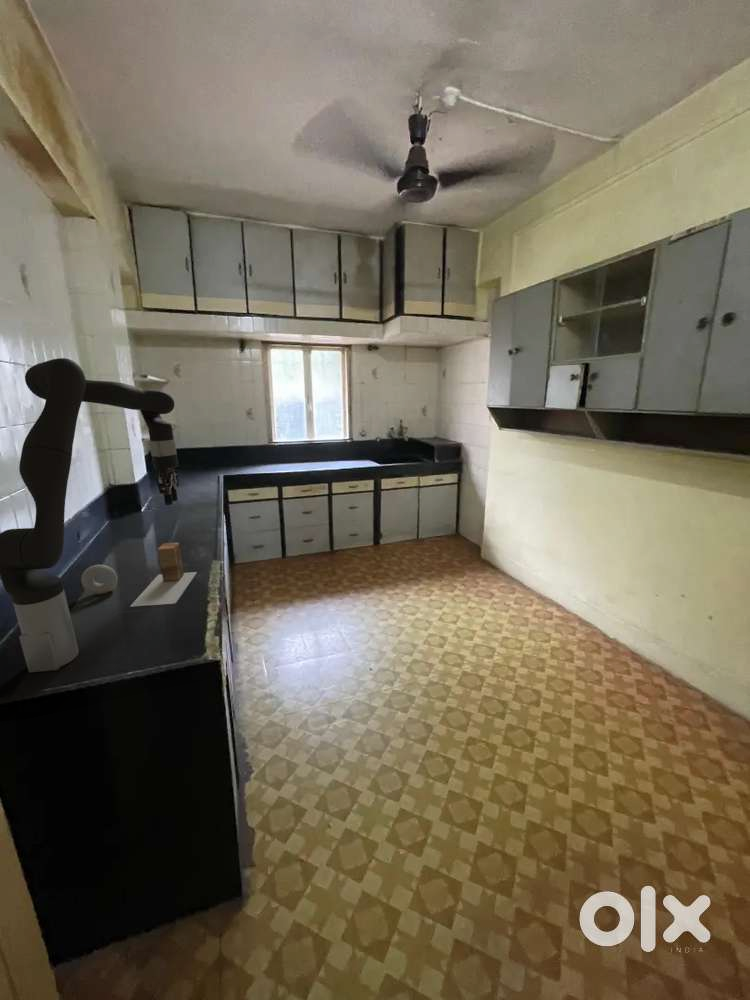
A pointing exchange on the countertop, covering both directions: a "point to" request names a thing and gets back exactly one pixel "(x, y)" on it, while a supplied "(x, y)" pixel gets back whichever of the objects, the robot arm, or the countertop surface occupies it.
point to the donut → (95, 587)
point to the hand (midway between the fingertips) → (171, 502)
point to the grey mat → (163, 591)
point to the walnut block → (171, 562)
